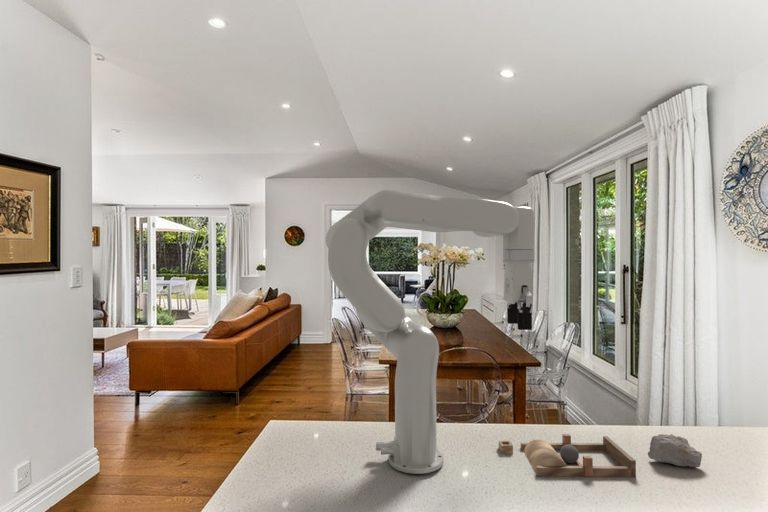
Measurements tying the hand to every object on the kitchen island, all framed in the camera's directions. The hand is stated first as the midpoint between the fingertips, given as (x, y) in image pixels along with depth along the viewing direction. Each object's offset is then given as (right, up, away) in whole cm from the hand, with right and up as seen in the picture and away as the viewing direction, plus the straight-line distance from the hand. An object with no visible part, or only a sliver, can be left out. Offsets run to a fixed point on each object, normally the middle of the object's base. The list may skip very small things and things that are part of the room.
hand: (519, 326), depth 110 cm
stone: (+28, -30, -8) cm, 42 cm away
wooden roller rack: (+11, -35, -7) cm, 37 cm away
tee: (-4, -30, -2) cm, 31 cm away
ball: (+8, -27, -7) cm, 29 cm away
